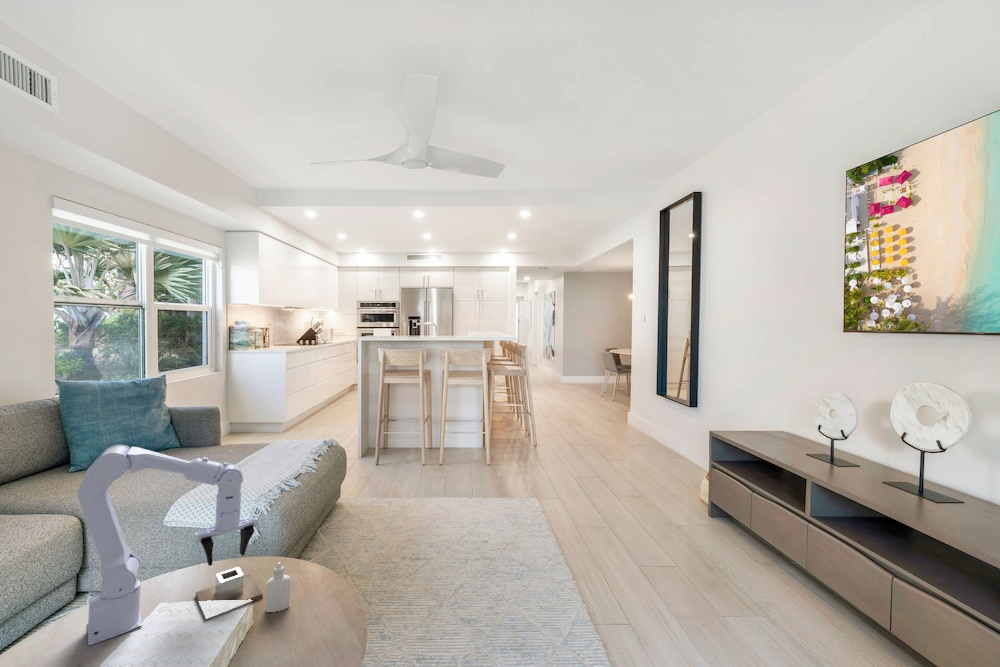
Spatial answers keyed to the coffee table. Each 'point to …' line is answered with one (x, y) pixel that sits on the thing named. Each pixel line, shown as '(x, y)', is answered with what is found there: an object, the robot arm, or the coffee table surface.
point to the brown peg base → (249, 592)
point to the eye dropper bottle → (278, 590)
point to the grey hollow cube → (229, 583)
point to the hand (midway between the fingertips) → (226, 558)
